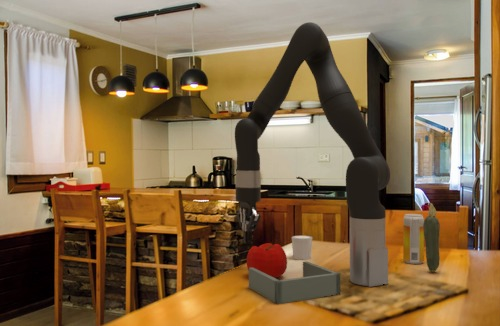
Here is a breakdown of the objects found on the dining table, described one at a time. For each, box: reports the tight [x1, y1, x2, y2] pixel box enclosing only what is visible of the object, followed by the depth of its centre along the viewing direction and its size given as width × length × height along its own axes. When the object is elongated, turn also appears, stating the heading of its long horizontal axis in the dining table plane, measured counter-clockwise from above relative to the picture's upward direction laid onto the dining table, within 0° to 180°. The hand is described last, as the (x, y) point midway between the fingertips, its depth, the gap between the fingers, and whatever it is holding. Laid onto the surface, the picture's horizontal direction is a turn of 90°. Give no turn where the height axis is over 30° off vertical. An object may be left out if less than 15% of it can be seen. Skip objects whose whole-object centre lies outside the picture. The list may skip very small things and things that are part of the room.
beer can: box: [402, 213, 425, 265], centre depth 149 cm, size 6×6×15 cm
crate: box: [248, 260, 341, 305], centre depth 118 cm, size 15×17×5 cm
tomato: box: [246, 242, 288, 279], centre depth 131 cm, size 11×12×9 cm
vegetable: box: [423, 202, 441, 273], centre depth 136 cm, size 4×4×20 cm
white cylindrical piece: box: [291, 234, 313, 261], centre depth 156 cm, size 7×7×7 cm
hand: (247, 243), depth 142 cm, fingers closed
